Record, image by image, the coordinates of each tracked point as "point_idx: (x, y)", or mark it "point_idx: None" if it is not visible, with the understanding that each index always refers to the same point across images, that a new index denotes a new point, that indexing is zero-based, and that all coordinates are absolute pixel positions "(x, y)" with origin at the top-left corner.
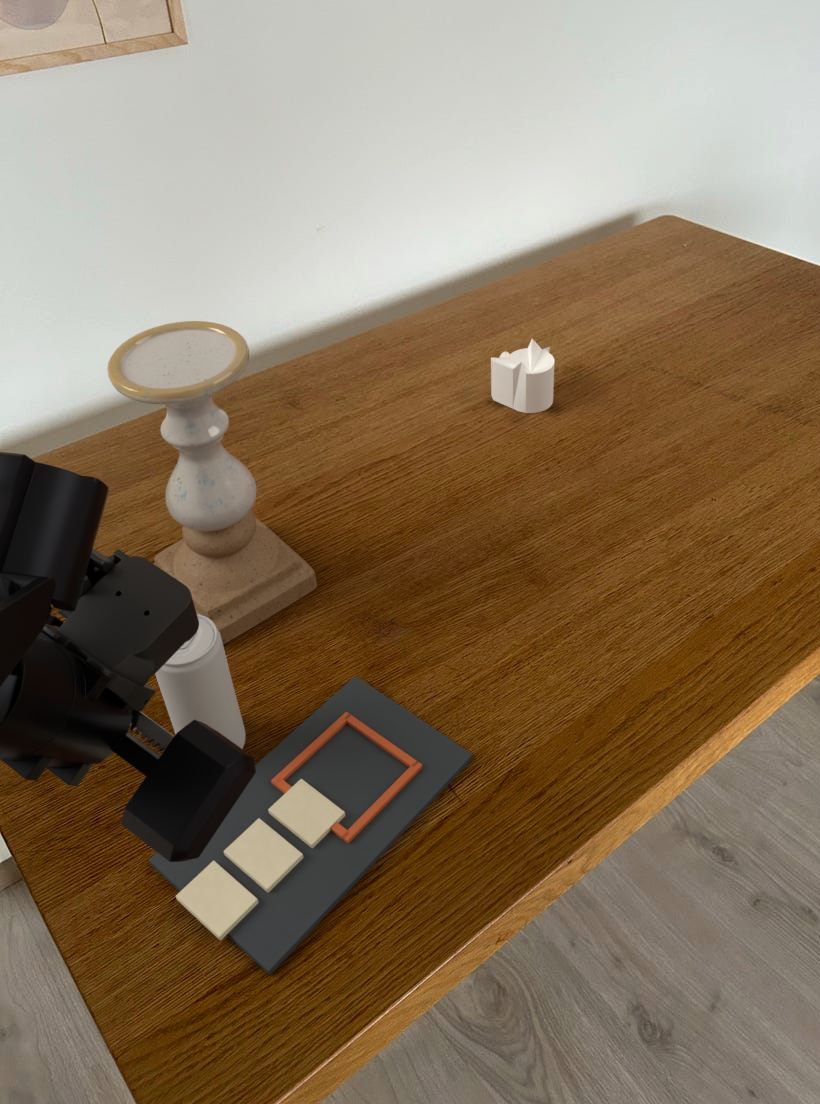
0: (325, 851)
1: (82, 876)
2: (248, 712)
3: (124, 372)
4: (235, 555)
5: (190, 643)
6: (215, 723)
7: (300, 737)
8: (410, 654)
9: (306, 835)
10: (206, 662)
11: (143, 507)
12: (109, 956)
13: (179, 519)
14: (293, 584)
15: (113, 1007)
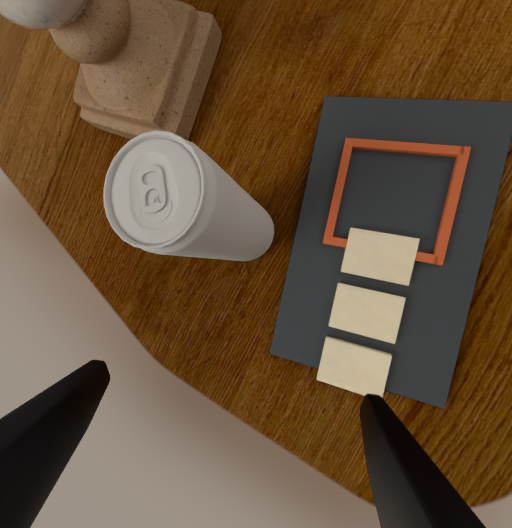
0: (421, 282)
1: (229, 379)
2: (251, 188)
3: None
4: (130, 40)
5: (167, 191)
6: (253, 238)
7: (317, 187)
8: (360, 39)
9: (397, 279)
10: (213, 205)
11: (43, 67)
12: (294, 430)
13: (22, 17)
14: (203, 41)
15: (326, 466)
